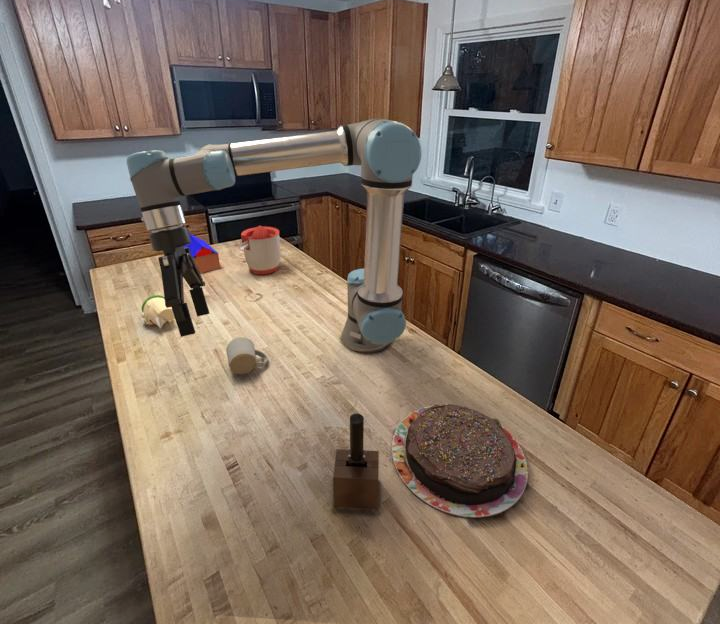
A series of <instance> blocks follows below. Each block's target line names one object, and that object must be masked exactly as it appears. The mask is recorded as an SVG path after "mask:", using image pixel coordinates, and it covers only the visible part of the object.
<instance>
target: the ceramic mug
mask: <svg viewBox="0 0 720 624" xmlns="http://www.w3.org/2000/svg"><path fill="white" fill-rule="evenodd" d="M255 348H256V347H255V344H254V342H253V341H252V340H251V339H250V338H248V337H245V336H244V337H243V336H240V337H236V338H234V339H231V340H230V341H229V342H228V343H227V345H226V350H225V353H226V358H227V363H228V366H229V367H228V368H229V369H230V370H231V372H232V373H233V374H235V375H239V376H240V375H241V376H242V375H247V374H248V373H250V372H252V371H254V369H255V368H263V367H265V366H266V365H267V364H268V361H269V358H268V355H267V354H266V353H264V352H263V351H262V350H261V351H260V350H257V349H255ZM257 356H258V357H260V358H261V359H263V362H262V361H261V362H259V361H257Z"/></svg>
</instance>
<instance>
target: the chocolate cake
mask: <svg viewBox="0 0 720 624" xmlns="http://www.w3.org/2000/svg"><path fill="white" fill-rule="evenodd" d="M404 446H405V447H404ZM404 448H405V449H404ZM404 450H405V452H404ZM405 456H406V457H405ZM391 458H392V463H393V465H394V468H395V470H396V473H397V475H398V476H399V478H400V479H401V481H402V482H403V484H404V486H406V487H407V488H408V490H409V491H410V492H411V493H412V494H413V495H414V496H415V497H417V498H418V499H420V501H422V502H423V503H425V504H427V505H429V506H430V507H431V508H434V509H437V510H438V511H440V512H444V513H447V514H450V515H451V516H454V517H459V518H467V519H484V518H485V517H486V518H487V517H503V514H502V513H503V512H505V511H508V510H509V509H511V508H512V507H514V506H516V505H517V503H518V501H520V499H521V497H522V495H523V494H524V493H525V489H526V488H527V484H528V478H529V476H530V475H529V465H528V461H527V458H526V454H525V453H524V451H523V449H522V447H521V445H520V444H519V442H518V441H517V439H516V438H515V437H514V436H513V435H512V434H511V432H509V430H507V428H506V427H504V426H503V425H502V424H501V422H500V420H499V419H498V418H493V417H491V416H489V415H487V414H485V413H483V412H481V411H479V410H476V409H474V408H471V407H467V406H462V405H458V404H454V403H447V404H433V405H428V406H425V407H421V408H419V409H416V410H414V411H411V412H410V413H409V414H407V416H405V417H404V418H402V420H401V421H400V422H399V424H398V425H397V427H396V428H395V430H394V433H393V436H392V438H391ZM406 460H407V461H406Z"/></svg>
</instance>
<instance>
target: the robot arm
mask: <svg viewBox="0 0 720 624" xmlns="http://www.w3.org/2000/svg"><path fill="white" fill-rule="evenodd" d="M420 141H421V140H420V139H419V137H418V135H417V134H416V133H415V131H414V130H413V129H411V128H410V127H409V126H408V125H406V124H405V123H403V122H400V121H396V120H390V119H386V118H382V117H381V118H380V117H379V118H371V119H367V120H363V121H359V122H354V123H350V124H342V125H339V126H338V128H337V129H336V130H329V131H322V132H312V133H305V134H298V135H289V136H281V137H272V138H271V137H270V138H264V139H254V140H247V141H239V142H231V143H223V144H217V143H209V144H206V145H203V146H201V147H200V148H199V149H198V150H197V152H195V153H194V154H191V155H185V156H181V157H176V158H169V157H168V156H167V153H166V152H165V151H164V150H158V149H157V150H155V149H154V150H153V149H152V150H145V151H143V150H142V151H138V152H134V153H131V154H130V155H128V156H127V157H126V166H127V170H128V174H129V180H130V182H131V185H132V187H133V191H134V193H135V196H136V199H137V202H138V205H139V209H140V212H141V215H142V217H140V220H141V221H142V222H143V223H144V225H145V227H146V230H147V231H148V232H150V233H149V236H148V237H149V241H150V245H151V248H152V250H153V251H154V252H161V251H162V253H163V256H159V257H158V264H159V267H160V273H161V281H162V290H163V297H164V298H165V306H166V308H169V307H172V310H173V313H174V319H175V323H176V326H177V329H178V332H179V335H180V338H182V337H186V336H190V335H191V336H192V335H195V334H196V330H195V325H194V323H193V320H192V316H191V313H190V310H189V306H188V304H187V302H185V292H184V281H185V282H186V284H187V285H188V287H189V288H190V289H189V294H190V298H191V301H192V303H193V307H194V311H195V313H196V314H195V315H196V317H201V316H202V317H203V316H206V315H209V314H210V310H209V306H208V302H207V300H206V296H205V293H204V292H205V291H204V290H203V287H206V282H205V280H203V277H202V275H201V273H200V272H199V270H198V268H197V266H196V264H195V262H194V259H193V257H192V255H191V252H190V248H189V247H183V246H185V245H188V244H190V243H191V238H190V235H189V234H190V231H189V228H188V227H187V226H185V224H186V223H187V221H186V218H185V213H184V211H183V207H182V203H181V201H180V197H186V196H190V195H194V194H195V195H197V194H200V193H201V194H202V193H207V192H213V191H222V190H223V189H226V188H231V187H233V186H234V185H235V184H236V177H240V176H247V175H255V174H264V173H272V172H278V171H285V170H294V169H302V168H308V167H309V168H310V167H317V166H325V165H333V164H341V165H343V166H344V167H350V166H360V185H361V187H363V189H364V190H365V191H366V213H365V237H364V238H365V239H364V240H365V241H364V266H363V267H362V268H358V269H354V270H352V271H350V272H349V273H348V274H347V279H346V280H347V281H346V284H347V288H346V289H347V317H346V321H345V323H344V327H343V329H342V332H341V333H342V334H341V341H342V343H343V345H344V346H345V347H346V348H348V349H349V350H351V351H354V352H358V353H364V354H365V353H366V354H368V353H369V354H371V353H376V352H377V353H378V352H380V351H383V350H384V349H386V348H387V347H389V345H390V344H391V343H393V342H394V341H396V339H398V338H400V337H401V336H402V334H403V333H404V332H405V331H406V330H405V329H406V326H407V319H406V316H405V314H404V312H403V311H402V306H403V295H404V292H403V289H402V288H401V286H399V285H398V284H399V283H398V282H399V281H398V280H399V270H400V257H401V243H402V241H401V240H402V230H403V229H402V228H403V216H404V206H405V205H404V204H405V194H406V193H407V191H409V190H410V189H411V187H412V186H413V178H414V174H415V172H417V170H418V169H419V167H420V164H421V161H422V155H423V154H422V153H423V152H422V145H421V142H420Z"/></svg>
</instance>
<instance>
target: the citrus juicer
mask: <svg viewBox="0 0 720 624" xmlns="http://www.w3.org/2000/svg"><path fill="white" fill-rule="evenodd" d="M240 233H241V234H240V236H241V237H240V239H241V243H240V244H239V247H238V248H239V250H240V251H243V254H244V255H243V256H244V259H245V262H246V264H247V267H248V269H249V271H250V272H251V273H253V274H255V275H260V276H262V275H269V274H271V273H274V272H276V271H277V270H278V269H279V266H280V262H281V257H282V256H281V255H282V254H281V240H280V239H281V238H280V230H279V229H278V228H276V227H272V226H262V225H258V226H256V227H250V228H247V229H245V230H243V231H241V232H240Z"/></svg>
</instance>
